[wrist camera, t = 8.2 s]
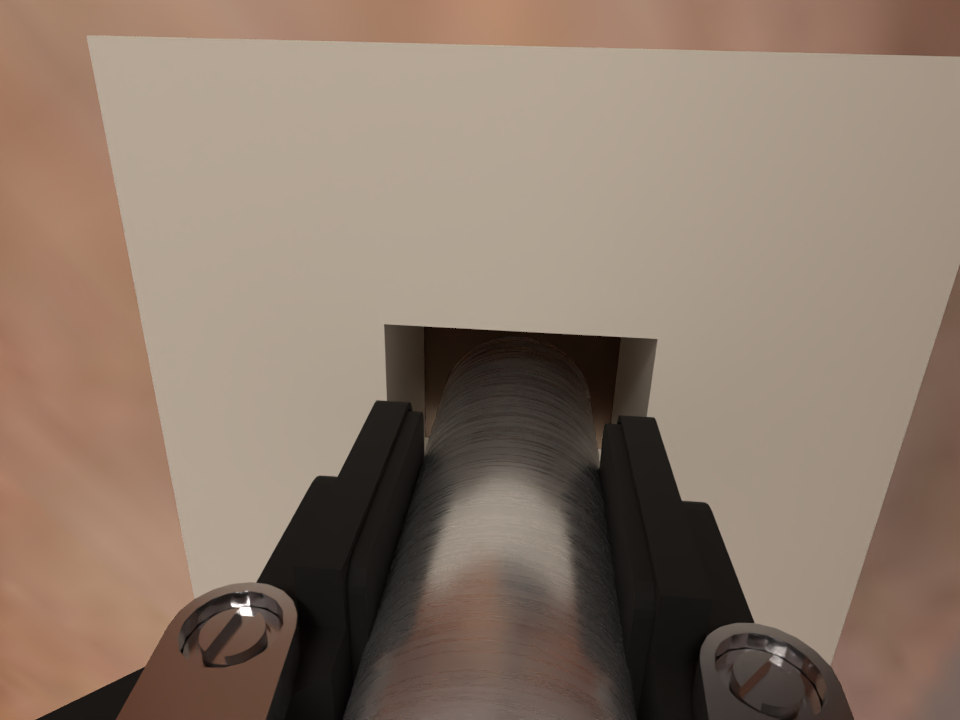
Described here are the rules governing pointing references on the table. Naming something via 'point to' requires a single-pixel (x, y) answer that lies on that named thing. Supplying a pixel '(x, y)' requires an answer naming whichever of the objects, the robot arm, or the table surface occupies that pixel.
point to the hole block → (542, 266)
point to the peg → (502, 558)
